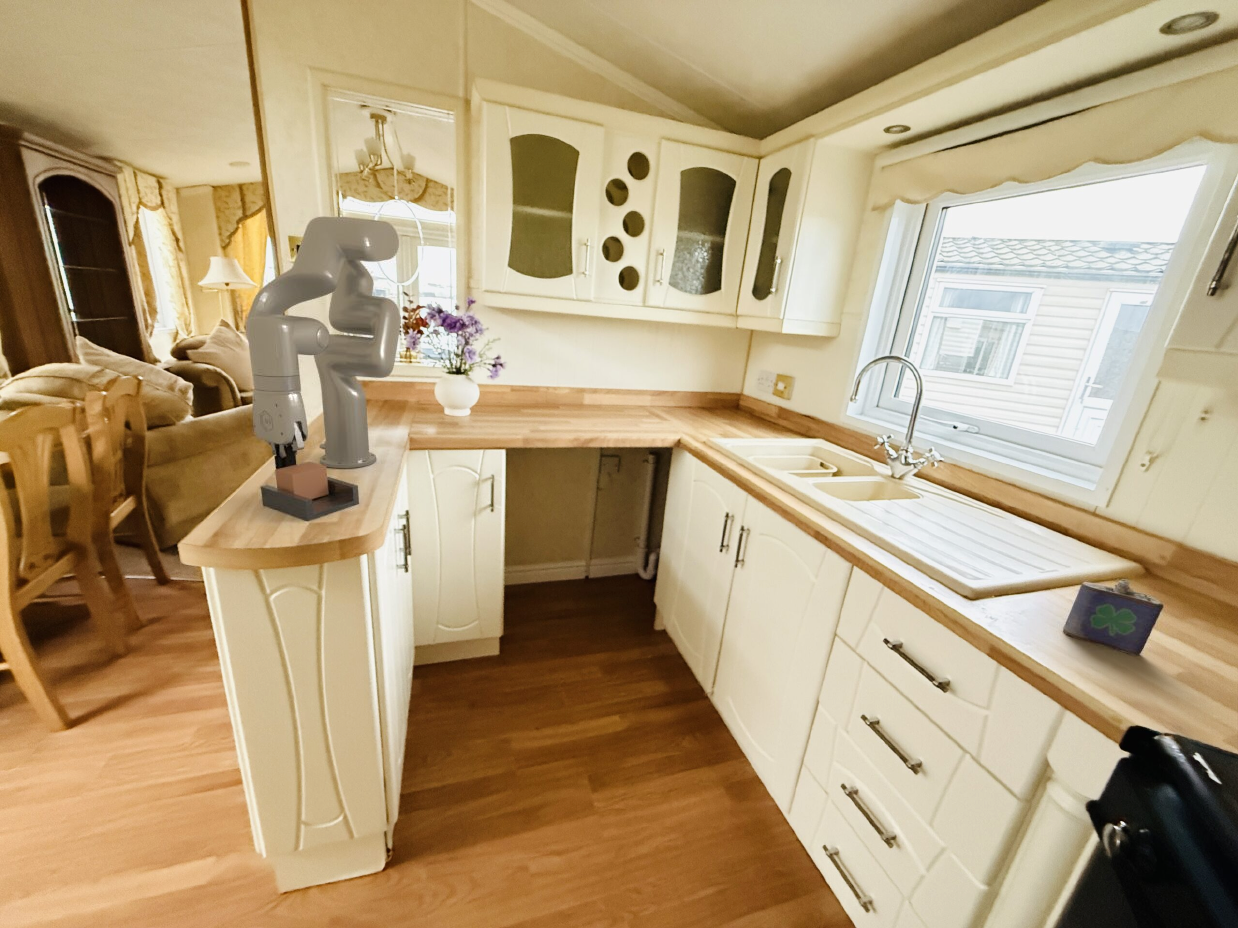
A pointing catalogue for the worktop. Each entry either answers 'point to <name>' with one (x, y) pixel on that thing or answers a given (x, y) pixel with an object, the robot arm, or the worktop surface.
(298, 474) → the block
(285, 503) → the chute
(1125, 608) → the flask
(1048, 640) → the worktop surface
